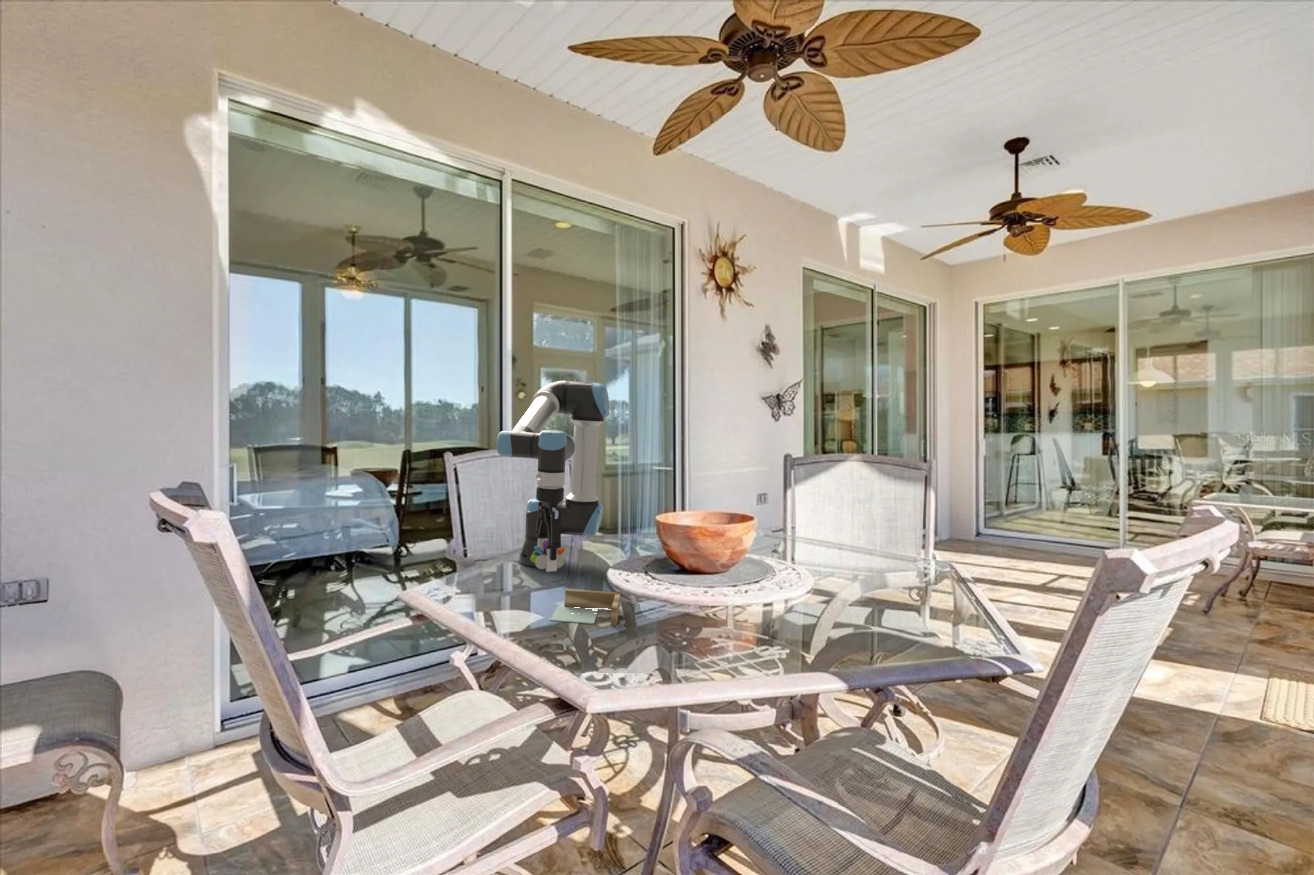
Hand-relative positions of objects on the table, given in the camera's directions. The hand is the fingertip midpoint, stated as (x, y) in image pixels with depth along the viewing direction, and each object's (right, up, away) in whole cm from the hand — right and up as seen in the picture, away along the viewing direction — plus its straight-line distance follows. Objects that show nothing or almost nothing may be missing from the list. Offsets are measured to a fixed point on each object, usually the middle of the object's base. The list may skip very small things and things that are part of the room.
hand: (546, 565), depth 173 cm
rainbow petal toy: (0, 0, 0) cm, 0 cm away
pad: (+8, -14, +1) cm, 16 cm away
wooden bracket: (+12, -14, +1) cm, 19 cm away
